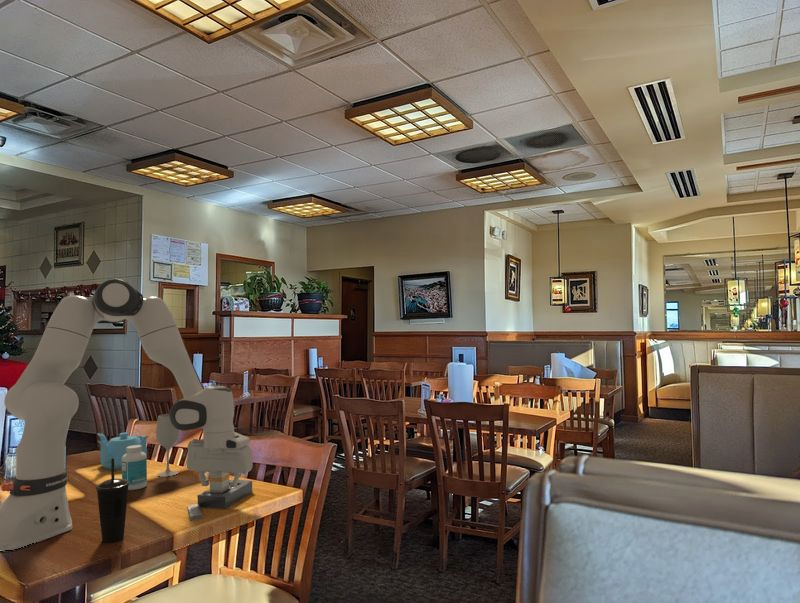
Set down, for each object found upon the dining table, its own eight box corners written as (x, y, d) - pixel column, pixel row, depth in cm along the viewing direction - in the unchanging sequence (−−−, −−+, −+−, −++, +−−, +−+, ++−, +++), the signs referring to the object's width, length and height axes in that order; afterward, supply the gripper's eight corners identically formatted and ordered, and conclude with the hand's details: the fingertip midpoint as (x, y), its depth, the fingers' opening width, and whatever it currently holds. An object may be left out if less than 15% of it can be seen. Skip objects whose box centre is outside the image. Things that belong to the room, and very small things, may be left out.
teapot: (97, 474, 201) (97, 440, 201) (97, 463, 217) (97, 431, 217) (149, 467, 209) (149, 434, 209) (145, 457, 225) (145, 426, 226)
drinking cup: (135, 532, 144) (134, 454, 144) (121, 544, 136) (121, 462, 137) (105, 533, 143) (104, 455, 144) (89, 545, 136) (89, 463, 136)
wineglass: (157, 472, 201) (157, 414, 202) (180, 470, 203) (179, 412, 204) (155, 478, 194) (154, 417, 195) (178, 475, 196) (177, 416, 197)
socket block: (225, 509, 160) (225, 496, 160) (197, 507, 162) (197, 495, 162) (252, 491, 176) (252, 480, 176) (226, 490, 178) (226, 479, 178)
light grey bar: (202, 520, 153) (202, 514, 153) (190, 522, 152) (190, 516, 152) (198, 509, 162) (198, 503, 162) (187, 511, 161) (187, 505, 161)
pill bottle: (151, 484, 187) (151, 443, 187) (138, 491, 179) (138, 449, 180) (130, 484, 187) (130, 443, 188) (117, 491, 180) (116, 449, 180)
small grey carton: (222, 505, 163) (221, 471, 164) (209, 505, 164) (209, 470, 164) (229, 501, 167) (229, 467, 168) (217, 500, 168) (216, 467, 168)
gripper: (181, 441, 166) (182, 488, 165) (244, 443, 161) (244, 491, 160) (194, 436, 172) (194, 481, 171) (254, 438, 167) (255, 485, 167)
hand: (219, 486), depth 166 cm, fingers open, 8 cm apart
